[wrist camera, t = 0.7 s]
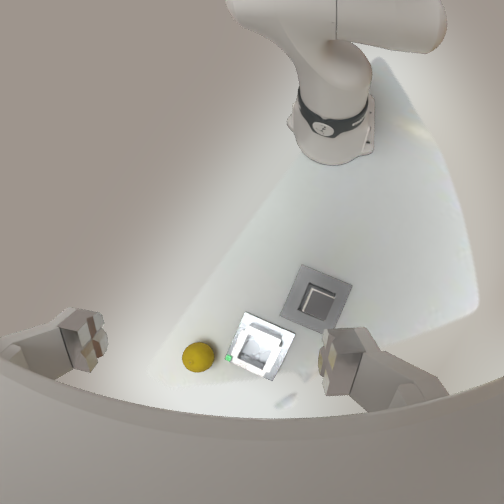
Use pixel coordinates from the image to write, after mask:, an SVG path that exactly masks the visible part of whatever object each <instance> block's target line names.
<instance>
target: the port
mask: <svg viewBox="0 0 504 504" xmlns="http://www.w3.org/2000/svg"><path fill="white" fill-rule="evenodd" d="M294 336H295V333H293V332H291V331H288V330H286V329H284V328H281V327H279V326H277V325H274V324H272V323H270V322H268V321H265V320H263V319H261V318H259V317H256V316H254V315H252V314H250V313H248V312H245V313H244V316H243V318H242V320H241V323H240V325H239V327H238V329H237V332H236V334H235V336H234V339H233V341H232V343H231V345H230V348H229V350H228V352H227V354H226V357H225V360H227V361H229V362H232V363H234V364H236V365H238V366H240V367H242V368H244V369H246V370H248V371H251V372H253V373H255V374H257V375H259V376H262V377H264V378H266V379H268V380H271V381H273V379H274V377H275V376H276V374H277V372H278V370H279V367H280V365H281V363H282V361H283V359H284V357H285V355H286V353H287V351H288V349H289V347H290V345H291V343H292V340H293V338H294Z"/></svg>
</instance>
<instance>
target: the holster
mask: <svg viewBox="0 0 504 504" xmlns="http://www.w3.org/2000/svg"><path fill="white" fill-rule="evenodd" d="M311 288H313V289H316V290H318V291H320V292H323V293H325V294H328V295H330V296H332V297H335V299H334V302H333V304H332V306H331V309H330V311H329V313H328V316H327V318H326V320H325V321H324V320H322V319H319V318H317V317H314V316H312V315H310V314H307V313H305V312H303V311H302V309H303V305H304V303H305V301H306V299H307V296H308V294H309V292H310V289H311ZM351 288H352V285H350V284H348V283H345V282H343V281H341V280H338V279H336V278H333V277H331V276H329V275H326V274H324V273H321V272H319V271H317V270H314V269H312V268H309V267H307V266H304V265H302V264H301V267H300V269H299V272H298V274H297V276H296V279H295V281H294V284H293V286H292V288H291V291H290V293H289V295H288V297H287V300H286V302H285V304H284V307H283V309H282V311H281V313H280V316H281V317H283V318H286V319H288V320H290V321H293V322H295V323H297V324H300V325H302V326H305V327H307V328H309V329H312V330H314V331H317V332H319V333H321V334H323V332H324V329H334V328H335V325H336V323H337V321H338V319H339V316H340V314H341V312H342V309H343V307H344V305H345V302H346V300H347V298H348V295H349V293H350V290H351Z"/></svg>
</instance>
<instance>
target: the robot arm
mask: <svg viewBox="0 0 504 504" xmlns="http://www.w3.org/2000/svg"><path fill="white" fill-rule="evenodd" d="M225 2H226V6H227V8H228V11H229V13H230V14H231V16H232V17H233V18H234V20H235V21H236V22H237V23H238V24H239V25H240V26H242V27H243V28H245V29H248V30H250V31H253V32H255V33H258V34H260V35H262V36H264V37H265V38H267V39H269V40H270V41H272V42H273V43H275V44H276V45H277V46H278V47H279V48H281V49H282V50H283V51H284V52H285V53H286V54H287V55H288V57H289V58H290V59H291V60H292V62H293V63H294V65H295V67H296V70H297V74H298V79H299V85H300V86H299V89H298V95H297V101H296V102H295V103H294V104H293V106H292V114H291V115H290V117H289V118H288V119H287V126H288V127H289V128H290V130H291V131H292V132H293V133H294V135H295V138H296V141H297V144H298V146H299V148H300V149H301V150H302V152H303V153H304V154H305V155H306V156H308V157H309V158H311V159H312V160H314V161H316V162H319V163H322V164H326V165H340V164H344V163H347V162H350V161H351V160H353V159H354V158H356V157H358V156H361V155H367V154H370V153H372V152H373V148H374V121H375V100H374V98H373V97H372V96H371V95H370V94H369V89H370V84H371V80H372V68H371V65H370V63H369V61H368V59H367V58H366V56H365V55H364V53H363V52H362V51H361V50H360V49H359V48H358V47H357V46H356V45H354V44H353V43H351V42H355V43H360V44H365V45H370V46H375V47H380V48H384V49H388V50H393V51H403V52H412V53H421V54H427V53H429V52H431V51H433V50H434V49H435V48H437V47H438V46H439V45H440V44H441V42H442V41H443V39H444V37H445V34H446V30H447V16H446V12H445V9H444V6H443V4H442V2H441V0H225ZM336 32H337V33H336ZM366 142H369V143H370V144H367V143H366ZM103 325H104V320H103V316H102V315H101V314H100V313H99V312H93V311H89V310H83V309H79V308H73V307H67V308H66V309H65V310H64V311H63V312H61V313H60V314H59V315H58V316H56V317H55V318H54V319H53V320H52V321H51V322H49V323H48V324H42V325H39V326H36V327H32V328H29V329H26V330H23V331H19V332H16V333H13V334H9V335H6V336H3V337H0V504H504V376H503V377H501V378H498V379H496V380H493V381H491V382H488V383H485V384H483V385H480V386H477V387H474V388H471V389H468V390H465V391H462V392H459V393H455V394H452V395H449V394H448V392H447V391H446V389H445V388H444V386H443V385H442V383H441V382H440V381H439V379H438V378H437V377H436V376H434V375H432V374H430V373H428V372H426V371H424V370H422V369H420V368H417V367H415V366H414V365H411V364H410V363H408V362H405V361H404V360H402V359H400V358H397V357H396V356H394V355H392V354H390V353H388V352H386V351H381V350H380V348H379V347H378V345H377V344H376V342H375V340H374V339H373V337H372V336H371V334H370V333H369V331H368V329H367V328H365V327H357V328H339V329H324V332H323V336H322V342H323V345H324V346H323V347H322V348H321V349H320V351H319V357H318V368H319V373H320V375H321V376H322V377H324V378H323V382H322V384H323V388H324V391H325V395H326V396H338V395H349V396H350V397H351V398H352V399H353V400H355V401H356V402H357V403H358V404H359V405H360V406H361V407H363V408H364V409H365V410H366V411H367V413H360V414H351V415H342V416H330V417H316V418H290V419H289V418H288V419H263V418H239V417H224V416H213V415H203V414H194V413H186V412H179V411H172V410H166V409H160V408H155V407H149V406H144V405H140V404H135V403H130V402H126V401H122V400H118V399H114V398H110V397H106V396H102V395H98V394H95V393H92V392H88V391H85V390H82V389H78V388H76V387H72V386H70V385H67V384H64V383H61V382H58V381H55V379H57V378H59V377H61V376H62V375H64V374H66V373H67V372H69V371H71V370H73V368H74V369H77V370H81V371H85V372H90V373H91V371H92V370H93V369H94V367H95V366H96V364H97V363H98V360H97V358H99V357H101V356H103V355H104V354H105V352H106V350H107V346H108V337H107V333H106V332H105V331H104V329H103V328H102V327H103Z"/></svg>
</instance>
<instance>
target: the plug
mask: <svg viewBox="0 0 504 504" xmlns="http://www.w3.org/2000/svg"><path fill="white" fill-rule="evenodd" d="M334 299H335V297H332V296H330V295H328V294H325V293H323V292H320V291H318V290H316V289H313V288H311V289H310V292H309V294H308V296H307V299H306V301H305V303H304V305H303V309H302V311H303V312H305V313H307V314H310V315H312V316H314V317H317V318H319V319H322V320H324V321H325V320H326V318H327V316H328V313H329V311H330V309H331V306H332V304H333V302H334Z"/></svg>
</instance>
